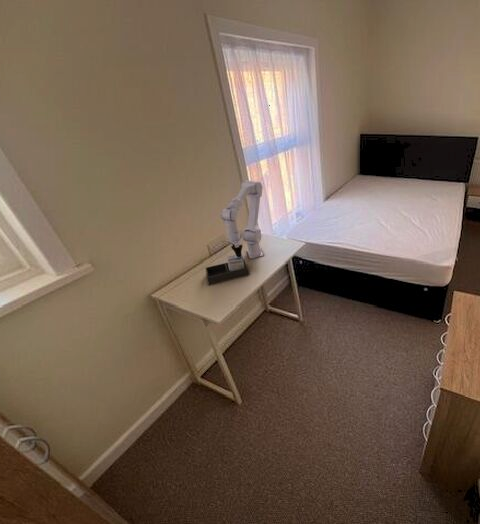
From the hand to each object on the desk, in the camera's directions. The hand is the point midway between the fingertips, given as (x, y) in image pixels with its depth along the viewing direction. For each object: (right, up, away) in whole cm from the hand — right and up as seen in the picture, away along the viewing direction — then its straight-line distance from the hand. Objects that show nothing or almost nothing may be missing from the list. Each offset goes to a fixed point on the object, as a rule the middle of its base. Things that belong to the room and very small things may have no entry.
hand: (238, 253), depth 155 cm
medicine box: (-1, -10, +1) cm, 10 cm away
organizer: (-5, -12, 0) cm, 13 cm away
